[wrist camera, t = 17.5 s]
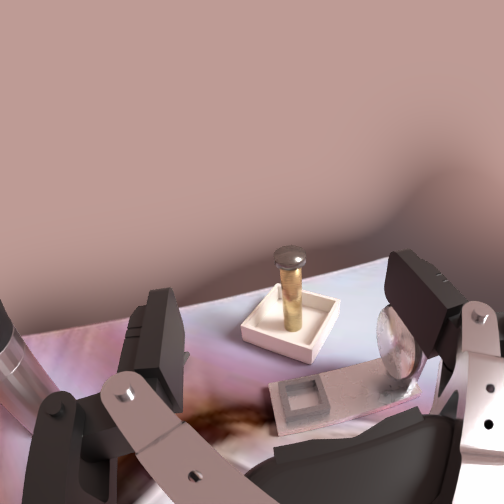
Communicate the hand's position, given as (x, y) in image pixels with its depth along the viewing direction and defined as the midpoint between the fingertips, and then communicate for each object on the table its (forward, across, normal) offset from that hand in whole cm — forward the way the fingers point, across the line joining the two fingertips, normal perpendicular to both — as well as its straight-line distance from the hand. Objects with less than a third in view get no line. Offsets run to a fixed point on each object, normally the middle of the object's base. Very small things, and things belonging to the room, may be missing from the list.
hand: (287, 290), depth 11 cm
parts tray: (+28, -6, +30) cm, 41 cm away
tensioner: (+13, -10, +30) cm, 34 cm away
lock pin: (+28, -6, +29) cm, 41 cm away
